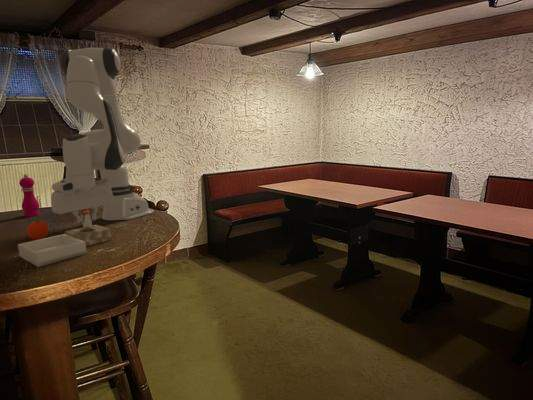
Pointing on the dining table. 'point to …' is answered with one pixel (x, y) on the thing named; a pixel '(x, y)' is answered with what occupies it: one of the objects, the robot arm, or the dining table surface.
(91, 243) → the block
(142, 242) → the dining table surface
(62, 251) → the tray
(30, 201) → the pepper mill
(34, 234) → the clementine
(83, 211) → the pin
